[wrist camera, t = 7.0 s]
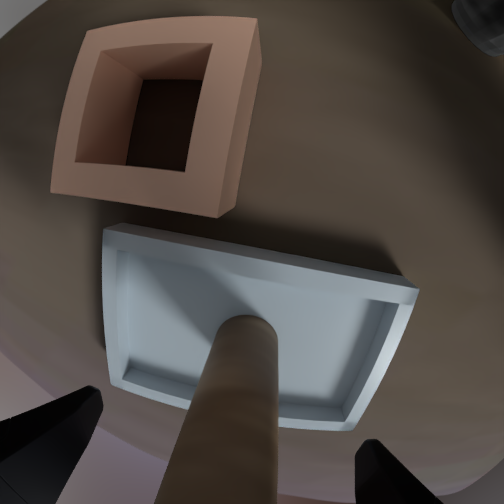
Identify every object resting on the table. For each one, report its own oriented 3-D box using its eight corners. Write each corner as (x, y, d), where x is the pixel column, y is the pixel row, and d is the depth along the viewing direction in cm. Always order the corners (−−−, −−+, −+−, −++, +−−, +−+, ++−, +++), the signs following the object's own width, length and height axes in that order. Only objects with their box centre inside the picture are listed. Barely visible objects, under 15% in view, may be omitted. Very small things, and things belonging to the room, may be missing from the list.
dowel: (284, 321, 13) (291, 543, 3) (270, 371, 13) (260, 562, 4) (220, 308, 13) (136, 515, 3) (212, 359, 13) (151, 542, 4)
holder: (262, 63, 10) (256, 18, 7) (234, 206, 12) (217, 218, 8) (129, 60, 11) (87, 30, 7) (103, 187, 12) (50, 192, 8)
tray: (403, 276, 12) (419, 289, 11) (346, 410, 15) (352, 430, 13) (122, 222, 13) (103, 228, 11) (123, 367, 15) (111, 384, 13)
